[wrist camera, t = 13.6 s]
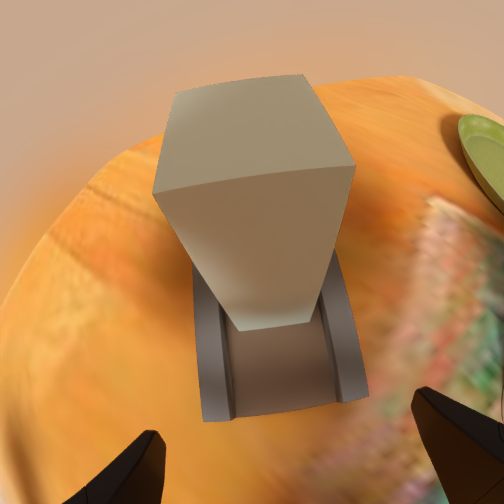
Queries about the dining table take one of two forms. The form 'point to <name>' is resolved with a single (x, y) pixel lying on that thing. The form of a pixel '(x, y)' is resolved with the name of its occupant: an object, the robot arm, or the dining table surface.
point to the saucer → (484, 154)
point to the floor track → (277, 356)
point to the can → (503, 406)
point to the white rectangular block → (256, 194)
